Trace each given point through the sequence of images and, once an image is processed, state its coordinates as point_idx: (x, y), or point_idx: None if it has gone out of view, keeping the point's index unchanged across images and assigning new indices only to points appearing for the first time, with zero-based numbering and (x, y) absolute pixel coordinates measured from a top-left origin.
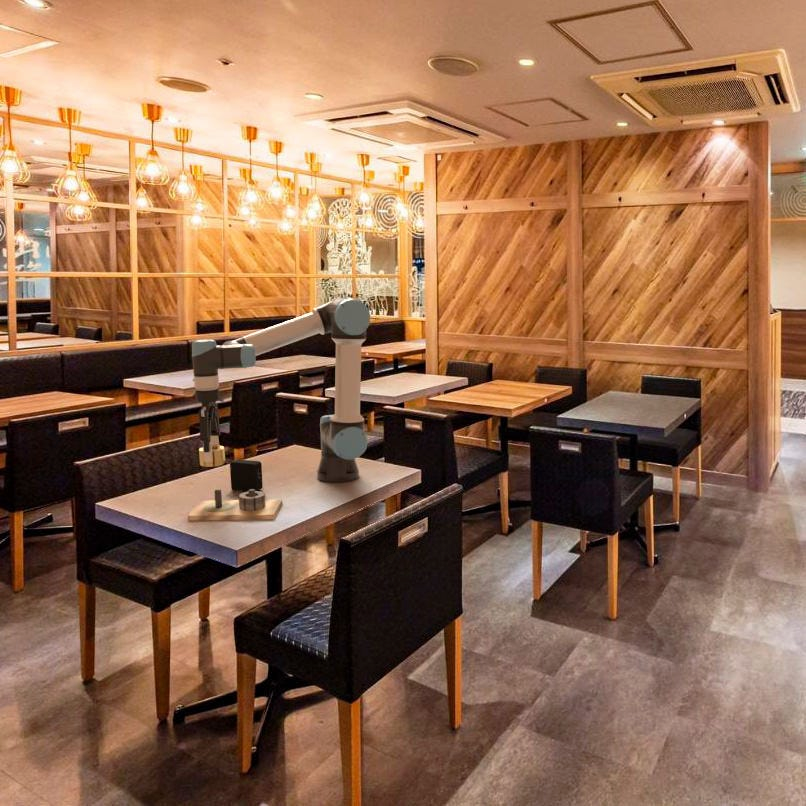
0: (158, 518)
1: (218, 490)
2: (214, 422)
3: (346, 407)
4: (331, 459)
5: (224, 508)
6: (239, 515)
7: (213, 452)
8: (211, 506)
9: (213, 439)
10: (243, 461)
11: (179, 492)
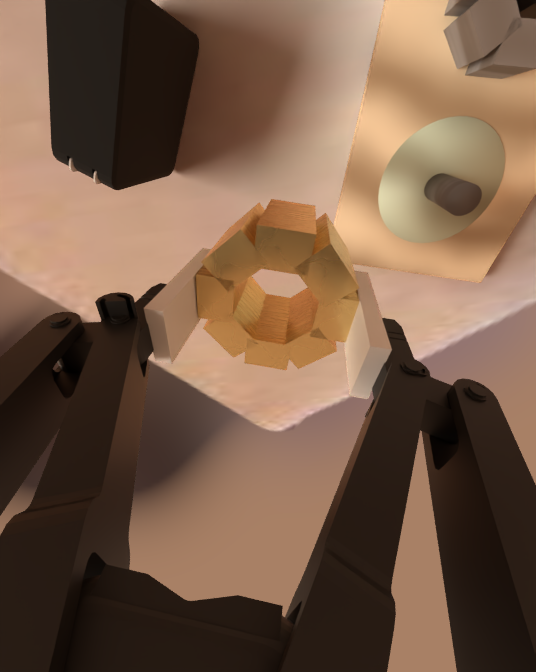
0: (411, 345)
1: (465, 197)
2: (117, 436)
3: None
4: None
5: (467, 159)
6: None
7: (348, 288)
8: (413, 218)
9: (180, 326)
10: (81, 105)
11: (201, 322)
